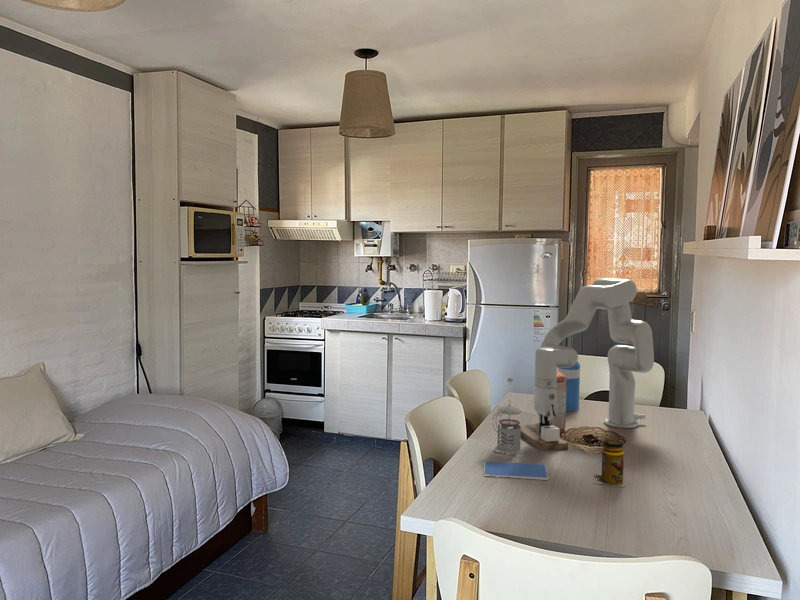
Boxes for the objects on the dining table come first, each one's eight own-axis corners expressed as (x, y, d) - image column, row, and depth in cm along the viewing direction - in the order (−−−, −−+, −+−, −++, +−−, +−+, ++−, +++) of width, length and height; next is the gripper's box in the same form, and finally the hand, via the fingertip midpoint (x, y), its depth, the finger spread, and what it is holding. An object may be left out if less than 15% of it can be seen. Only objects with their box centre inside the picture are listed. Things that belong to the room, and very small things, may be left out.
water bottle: (558, 410, 258) (559, 353, 257) (556, 405, 268) (557, 349, 266) (580, 411, 257) (581, 353, 255) (577, 406, 266) (578, 350, 264)
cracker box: (566, 430, 228) (567, 376, 226) (550, 430, 228) (551, 376, 226) (557, 420, 242) (558, 369, 240) (542, 420, 242) (543, 369, 240)
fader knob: (553, 437, 210) (554, 425, 210) (559, 440, 207) (559, 428, 206) (540, 438, 209) (541, 426, 209) (546, 441, 205) (546, 429, 205)
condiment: (624, 487, 171) (626, 446, 170) (594, 483, 174) (595, 443, 173) (623, 478, 178) (624, 439, 177) (593, 475, 180) (594, 436, 180)
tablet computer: (483, 478, 179) (483, 474, 179) (483, 464, 191) (484, 460, 191) (549, 482, 176) (549, 478, 176) (545, 468, 188) (545, 463, 188)
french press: (511, 456, 197) (512, 381, 196) (484, 447, 206) (485, 376, 204) (529, 450, 204) (530, 378, 202) (502, 442, 212) (503, 373, 211)
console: (537, 429, 229) (537, 423, 229) (568, 448, 206) (568, 442, 205) (513, 430, 227) (513, 425, 227) (541, 450, 203) (541, 444, 203)
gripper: (565, 386, 204) (564, 439, 206) (545, 378, 219) (544, 427, 220) (545, 387, 203) (544, 440, 204) (526, 379, 217) (525, 428, 219)
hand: (544, 433), depth 212 cm, fingers closed
